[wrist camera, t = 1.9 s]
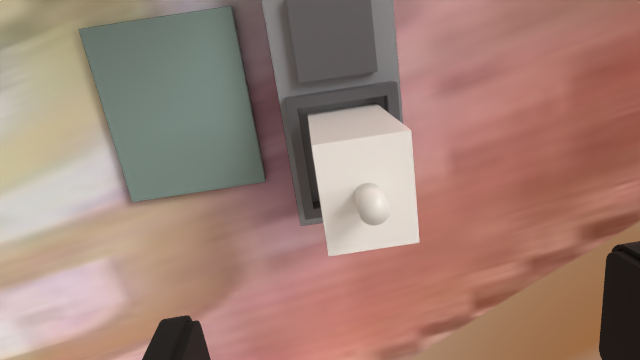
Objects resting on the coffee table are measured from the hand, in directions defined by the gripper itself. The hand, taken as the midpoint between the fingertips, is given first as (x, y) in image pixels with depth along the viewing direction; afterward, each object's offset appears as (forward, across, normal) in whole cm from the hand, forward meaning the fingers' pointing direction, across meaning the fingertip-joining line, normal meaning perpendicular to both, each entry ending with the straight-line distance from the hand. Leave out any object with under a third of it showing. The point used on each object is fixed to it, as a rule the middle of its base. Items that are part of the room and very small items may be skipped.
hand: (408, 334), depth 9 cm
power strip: (+19, -1, -4) cm, 20 cm away
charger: (+16, -1, 0) cm, 16 cm away
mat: (+19, +9, -4) cm, 22 cm away
